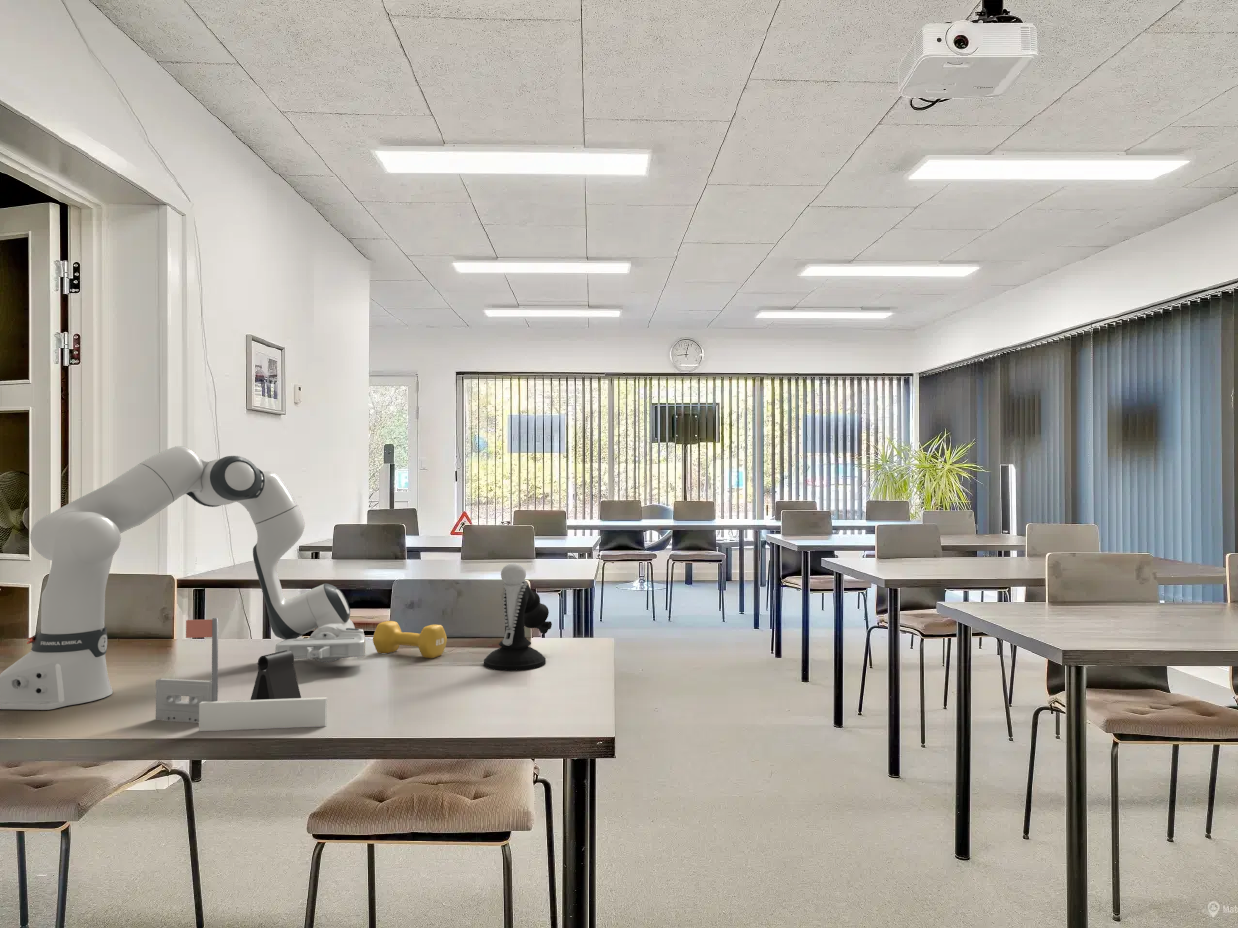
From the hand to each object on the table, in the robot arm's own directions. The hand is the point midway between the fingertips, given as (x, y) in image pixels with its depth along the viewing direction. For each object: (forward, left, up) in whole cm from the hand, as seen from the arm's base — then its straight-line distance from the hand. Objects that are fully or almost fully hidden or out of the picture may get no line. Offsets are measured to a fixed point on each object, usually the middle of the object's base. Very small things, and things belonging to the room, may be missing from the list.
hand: (314, 655), depth 185 cm
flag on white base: (-2, -31, -5) cm, 32 cm away
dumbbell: (+19, +24, -6) cm, 31 cm away
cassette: (-16, -30, -6) cm, 35 cm away
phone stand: (0, -29, -6) cm, 30 cm away
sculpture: (+48, +13, -6) cm, 50 cm away
